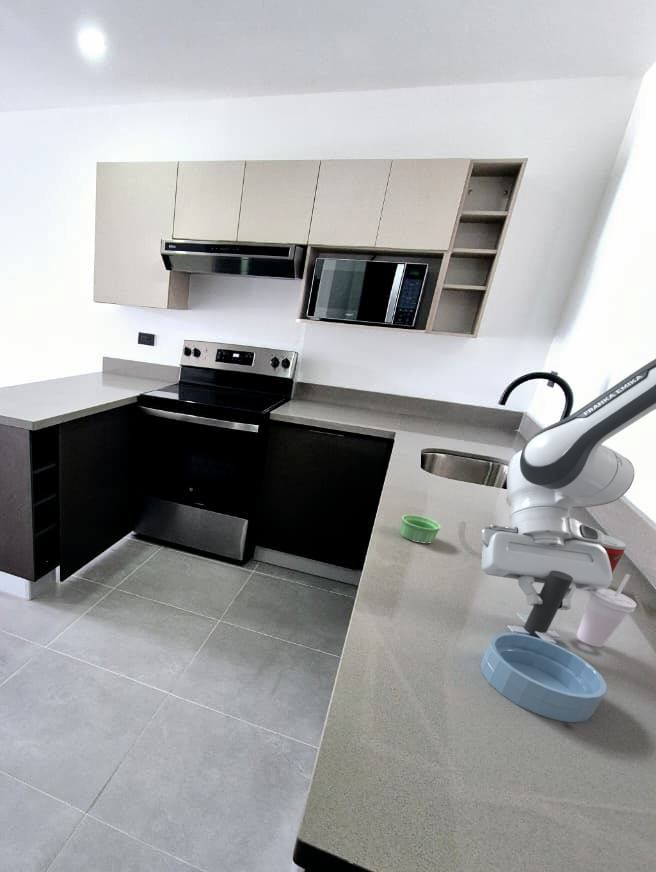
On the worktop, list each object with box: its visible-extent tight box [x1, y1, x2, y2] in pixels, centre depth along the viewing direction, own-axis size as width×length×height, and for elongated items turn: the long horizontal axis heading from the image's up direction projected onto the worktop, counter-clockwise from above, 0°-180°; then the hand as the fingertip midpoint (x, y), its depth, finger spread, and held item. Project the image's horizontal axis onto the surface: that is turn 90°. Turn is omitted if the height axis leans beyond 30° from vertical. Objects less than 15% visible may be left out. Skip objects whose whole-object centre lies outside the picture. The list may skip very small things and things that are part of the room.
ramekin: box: [399, 514, 442, 543], centre depth 125 cm, size 9×9×4 cm
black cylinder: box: [506, 571, 573, 645], centre depth 85 cm, size 8×8×13 cm
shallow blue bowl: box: [479, 631, 608, 723], centre depth 74 cm, size 14×14×5 cm
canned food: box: [599, 533, 627, 574], centre depth 111 cm, size 8×8×11 cm
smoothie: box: [576, 573, 637, 648], centre depth 86 cm, size 6×6×14 cm
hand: (549, 607), depth 85 cm, fingers closed on black cylinder, 3 cm apart
